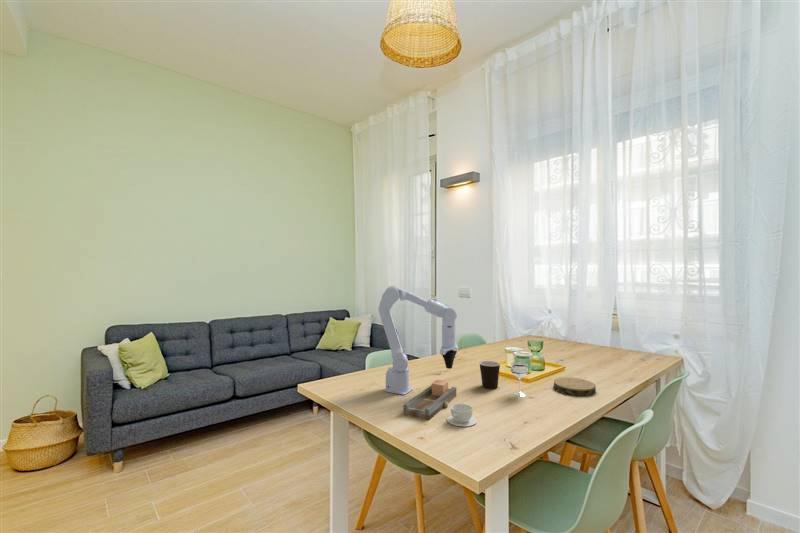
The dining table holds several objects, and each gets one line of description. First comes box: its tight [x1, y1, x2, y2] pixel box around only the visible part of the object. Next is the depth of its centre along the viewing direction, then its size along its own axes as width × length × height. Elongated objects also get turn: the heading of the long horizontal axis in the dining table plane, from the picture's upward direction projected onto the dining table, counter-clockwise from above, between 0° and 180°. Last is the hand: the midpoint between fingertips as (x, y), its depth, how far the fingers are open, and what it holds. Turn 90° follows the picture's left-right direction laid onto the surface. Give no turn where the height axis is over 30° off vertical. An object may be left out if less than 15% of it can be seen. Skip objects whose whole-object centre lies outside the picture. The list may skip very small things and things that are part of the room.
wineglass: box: [510, 361, 529, 397], centre depth 150 cm, size 7×7×12 cm
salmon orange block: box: [431, 379, 449, 396], centre depth 147 cm, size 5×5×4 cm
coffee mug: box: [479, 360, 501, 390], centre depth 161 cm, size 12×9×10 cm
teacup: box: [446, 403, 477, 427], centre depth 125 cm, size 10×10×5 cm
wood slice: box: [553, 376, 597, 397], centre depth 155 cm, size 16×16×3 cm
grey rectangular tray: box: [403, 384, 457, 421], centre depth 140 cm, size 12×26×4 cm, turn 151°
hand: (449, 368), depth 156 cm, fingers closed
